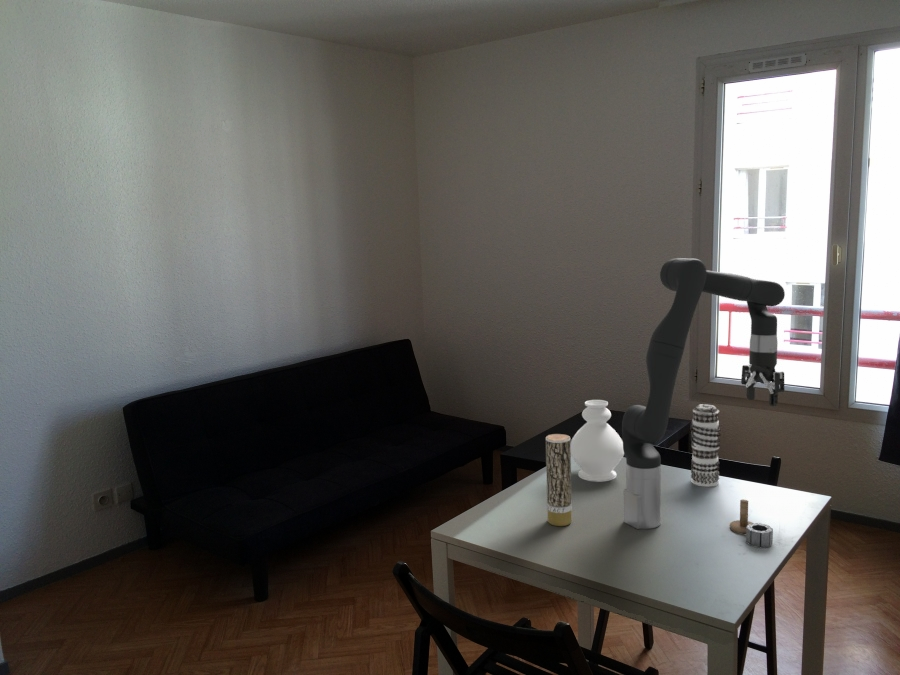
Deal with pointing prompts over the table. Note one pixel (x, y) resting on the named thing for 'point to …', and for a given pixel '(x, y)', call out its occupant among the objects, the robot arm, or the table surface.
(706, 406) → the decorative candle
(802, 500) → the table surface
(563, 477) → the paper tube
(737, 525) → the wooden peg stand
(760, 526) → the ring
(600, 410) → the decorative vase
